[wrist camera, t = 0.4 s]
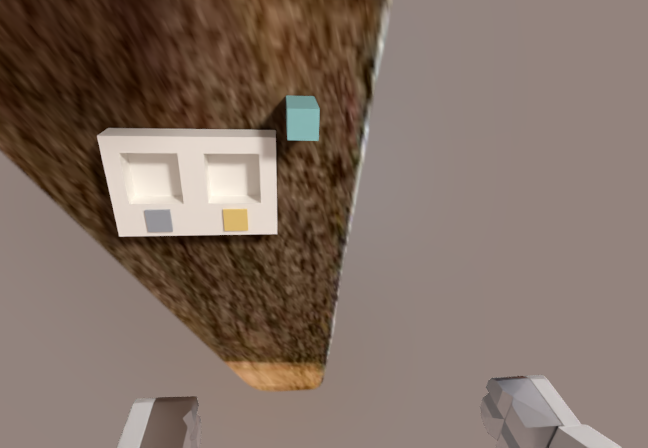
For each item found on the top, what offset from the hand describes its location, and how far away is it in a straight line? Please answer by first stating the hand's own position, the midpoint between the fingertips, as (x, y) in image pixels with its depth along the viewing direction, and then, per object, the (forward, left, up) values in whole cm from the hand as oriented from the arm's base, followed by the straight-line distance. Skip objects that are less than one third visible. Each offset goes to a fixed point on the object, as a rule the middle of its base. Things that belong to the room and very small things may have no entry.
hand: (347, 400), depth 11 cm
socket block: (+10, -12, -43) cm, 46 cm away
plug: (+1, +1, -43) cm, 43 cm away
